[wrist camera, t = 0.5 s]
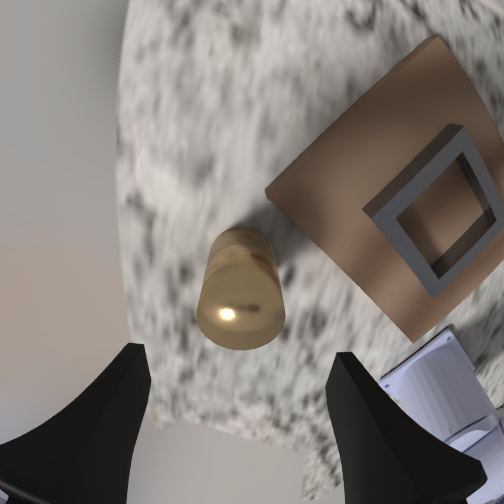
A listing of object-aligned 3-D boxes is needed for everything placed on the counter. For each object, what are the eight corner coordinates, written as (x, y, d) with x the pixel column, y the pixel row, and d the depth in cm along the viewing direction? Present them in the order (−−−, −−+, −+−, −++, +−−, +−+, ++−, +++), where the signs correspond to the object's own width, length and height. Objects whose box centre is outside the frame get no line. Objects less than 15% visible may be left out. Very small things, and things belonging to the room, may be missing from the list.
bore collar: (496, 212, 17) (509, 221, 15) (423, 286, 19) (433, 298, 18) (449, 123, 14) (464, 125, 13) (361, 209, 17) (370, 218, 15)
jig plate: (522, 217, 18) (533, 223, 17) (406, 331, 23) (413, 343, 21) (426, 39, 13) (439, 35, 12) (264, 189, 18) (266, 196, 16)
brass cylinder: (288, 256, 20) (303, 316, 14) (244, 296, 21) (243, 361, 15) (240, 213, 18) (237, 263, 13) (196, 258, 20) (179, 319, 14)
